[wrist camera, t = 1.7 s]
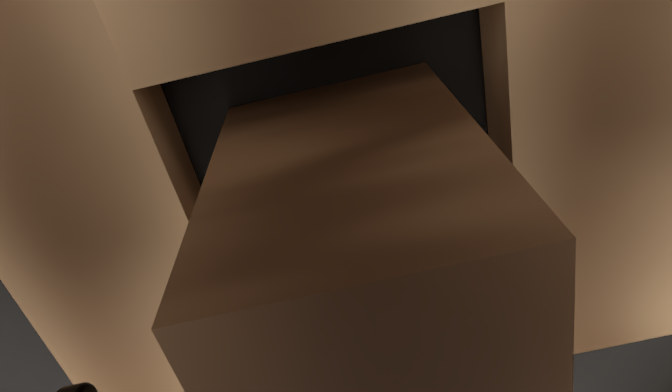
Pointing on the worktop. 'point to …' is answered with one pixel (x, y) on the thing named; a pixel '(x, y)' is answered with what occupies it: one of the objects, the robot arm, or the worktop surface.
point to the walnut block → (368, 252)
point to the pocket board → (282, 38)
